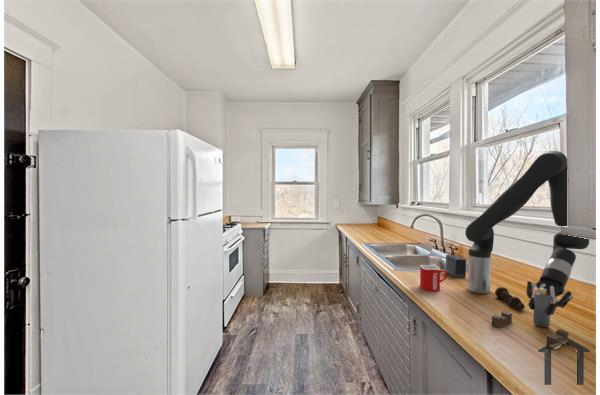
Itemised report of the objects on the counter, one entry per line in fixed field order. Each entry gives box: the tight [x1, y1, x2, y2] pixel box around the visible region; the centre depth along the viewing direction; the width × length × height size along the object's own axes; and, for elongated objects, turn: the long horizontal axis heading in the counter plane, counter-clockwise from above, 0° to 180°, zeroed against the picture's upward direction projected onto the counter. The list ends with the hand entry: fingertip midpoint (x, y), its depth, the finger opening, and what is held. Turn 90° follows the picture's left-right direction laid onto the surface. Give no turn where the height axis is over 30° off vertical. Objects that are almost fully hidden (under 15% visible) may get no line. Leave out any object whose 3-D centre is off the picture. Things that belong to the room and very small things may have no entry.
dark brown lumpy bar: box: [494, 286, 526, 311], centre depth 134 cm, size 6×5×15 cm
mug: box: [419, 264, 448, 292], centre depth 153 cm, size 12×8×11 cm
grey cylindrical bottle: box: [532, 288, 551, 328], centre depth 113 cm, size 5×5×13 cm
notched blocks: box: [491, 310, 570, 346], centre depth 108 cm, size 9×20×4 cm, turn 30°
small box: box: [445, 254, 467, 279], centre depth 175 cm, size 11×6×10 cm, turn 4°
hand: (539, 311), depth 112 cm, fingers closed on grey cylindrical bottle, 4 cm apart
